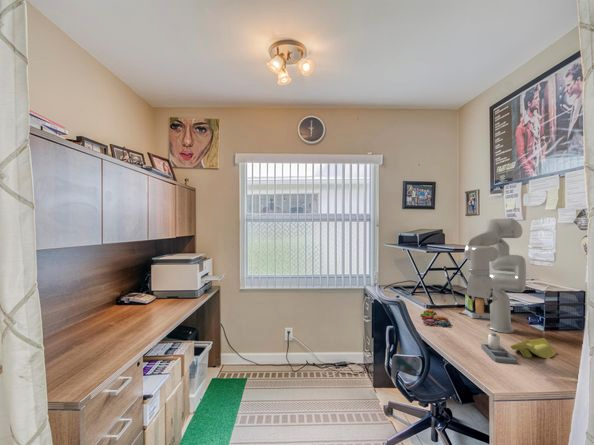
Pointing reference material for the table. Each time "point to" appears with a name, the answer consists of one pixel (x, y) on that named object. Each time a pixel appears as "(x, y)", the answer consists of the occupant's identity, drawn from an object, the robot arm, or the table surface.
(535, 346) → the plastic component
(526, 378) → the table surface
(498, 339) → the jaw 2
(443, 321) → the gear puzzle
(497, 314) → the robot arm
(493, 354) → the housing
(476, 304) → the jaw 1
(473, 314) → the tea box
